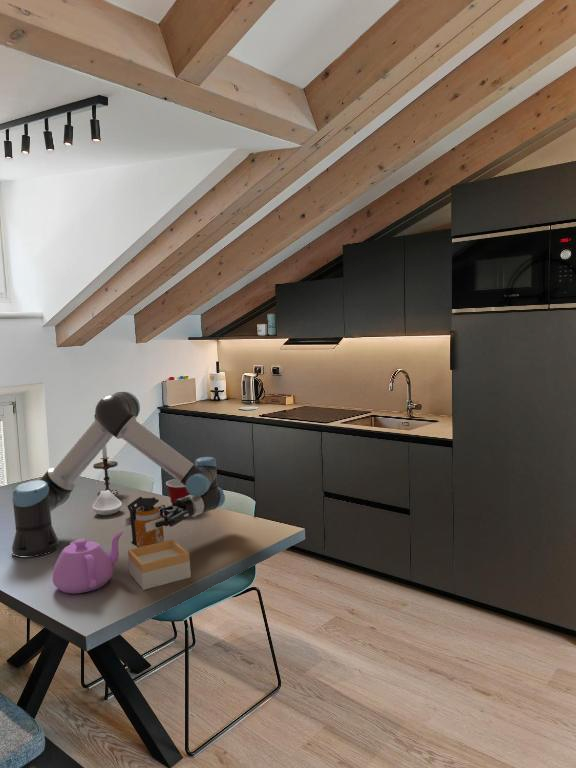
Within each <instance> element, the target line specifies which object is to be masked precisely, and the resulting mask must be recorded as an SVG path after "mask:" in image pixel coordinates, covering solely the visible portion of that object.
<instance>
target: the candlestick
mask: <svg viewBox="0 0 576 768" xmlns="http://www.w3.org/2000/svg"><path fill="white" fill-rule="evenodd" d="M107 450H108V449H107V444H106V445H105V446H104V447H103V448H102V450H101V452H102V453H101V454H102V458H100V460H102V461H101V462H97V463H94V464H93V465H92V468H93V469H98V470H104V477H103V481H104V485H105V489H104V490H103V491H107V490H109V491H110V492H111V493H112V491H113V490H115V491H117V492H118V493H119V491H118V489H110V487H109V485H110V479H111V478H110V476H109V473H108V471H109V469H111V468H115V467H117V466H118V461H112V460H110V461H109V460H108V459H110V457H108V454H107V453H108V452H107ZM111 490H112V491H111ZM117 492H116V493H117ZM100 493H101V491H99V492H97V496H98V495H100ZM113 494H115V493H113Z"/></svg>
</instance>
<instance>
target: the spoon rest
mask: <svg viewBox="0 0 576 768" xmlns="http://www.w3.org/2000/svg"><path fill="white" fill-rule="evenodd" d="M100 492H101V493H100V495H99V496H97V498H96V499H95V500H94V502H93V504H92V510H93V511H94V512H95V513H96V514H97V515H100V516H111V515H114V514H116V513H117V512H119V511H120V510H121V508H122V506H123V502H122V501H121V500H120V499H119V498H118V497H116V495H113V494H112V493H111V492H110V491H109V490H107V491H104V490H101V491H100Z"/></svg>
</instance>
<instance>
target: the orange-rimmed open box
mask: <svg viewBox="0 0 576 768" xmlns="http://www.w3.org/2000/svg"><path fill="white" fill-rule="evenodd" d="M127 557H128V570H129V575H130V576H131V577H132V578H133V580H134V581H136V583H137V585H139V587H140V588H141V589H142V590H144V591H145V590H148V589H152V588H155V587H160V586H163V585H167V584H171V583H174V582H178V581H182V580H185V579H186V580H187V579H190V578H192V575H191V559H190V552H188V551H187V550H186V549H185V548H184V547H182V545H180V544H179V543H178V542H176V540H174V539H170V540H164V542H160V543H156V544H151V545H147V546H143V547H138V548H137V547H134V548H130V549H129V548H128V550H127Z"/></svg>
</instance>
